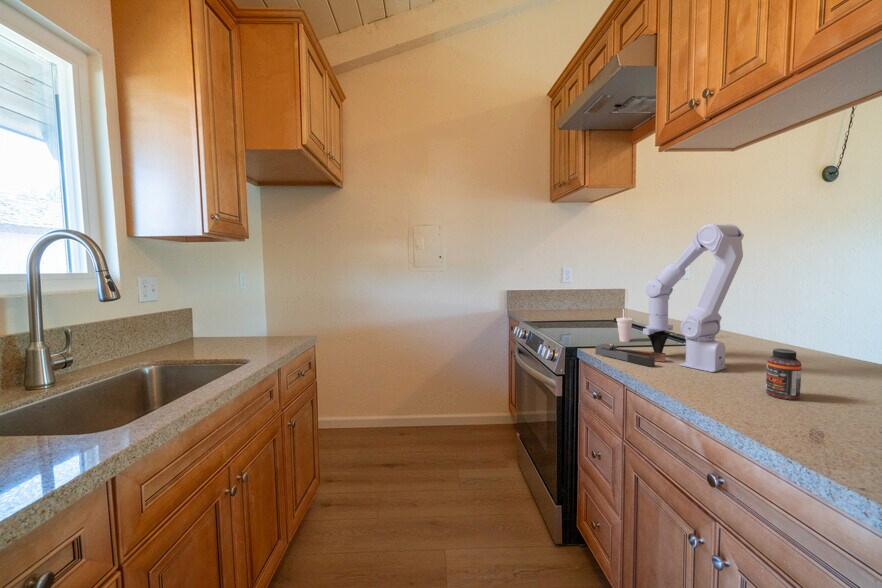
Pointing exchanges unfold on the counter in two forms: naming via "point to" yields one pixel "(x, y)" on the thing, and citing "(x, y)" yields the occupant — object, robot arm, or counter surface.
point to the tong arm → (645, 353)
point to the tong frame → (623, 355)
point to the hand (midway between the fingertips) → (658, 352)
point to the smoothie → (624, 328)
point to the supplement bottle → (783, 375)
